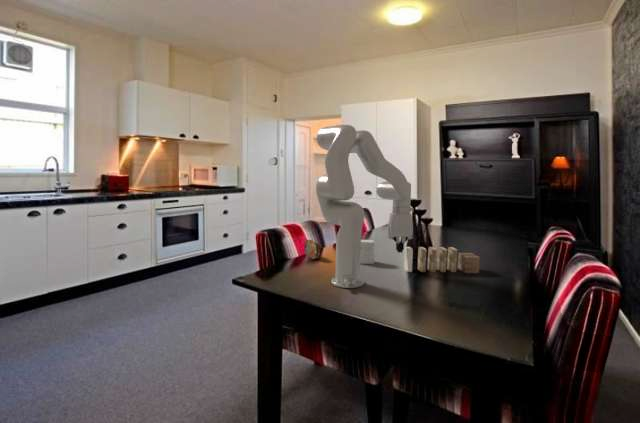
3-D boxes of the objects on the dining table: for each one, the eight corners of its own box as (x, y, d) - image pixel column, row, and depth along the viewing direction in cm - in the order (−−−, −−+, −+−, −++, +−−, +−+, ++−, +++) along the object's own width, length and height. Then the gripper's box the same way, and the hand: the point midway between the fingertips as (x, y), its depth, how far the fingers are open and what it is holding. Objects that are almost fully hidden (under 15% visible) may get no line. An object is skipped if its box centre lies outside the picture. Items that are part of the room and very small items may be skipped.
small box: (373, 261, 175) (374, 239, 174) (373, 264, 170) (374, 242, 168) (356, 260, 176) (357, 239, 175) (356, 263, 171) (357, 241, 169)
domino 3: (431, 268, 164) (432, 247, 162) (435, 271, 159) (436, 249, 157) (427, 268, 163) (428, 246, 162) (431, 271, 158) (432, 249, 157)
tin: (303, 254, 188) (303, 238, 187) (309, 253, 189) (309, 237, 188) (315, 261, 174) (315, 243, 173) (321, 260, 176) (321, 243, 175)
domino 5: (451, 268, 164) (452, 247, 163) (455, 272, 159) (457, 249, 158) (447, 268, 164) (448, 247, 163) (451, 272, 159) (452, 249, 158)
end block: (478, 273, 158) (479, 257, 157) (465, 272, 158) (466, 257, 157) (470, 268, 166) (471, 253, 165) (457, 267, 165) (458, 252, 165)
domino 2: (421, 268, 163) (422, 246, 162) (425, 271, 158) (426, 249, 157) (417, 268, 163) (418, 246, 162) (420, 271, 158) (422, 249, 157)
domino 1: (408, 268, 163) (409, 246, 162) (411, 271, 158) (412, 249, 157) (404, 268, 163) (405, 246, 162) (407, 271, 158) (408, 249, 157)
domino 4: (441, 268, 164) (442, 247, 163) (445, 271, 159) (447, 249, 158) (437, 268, 164) (438, 247, 162) (441, 271, 159) (442, 249, 157)
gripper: (415, 209, 161) (413, 250, 164) (382, 209, 161) (381, 249, 163) (421, 211, 154) (419, 253, 156) (386, 211, 153) (384, 253, 156)
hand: (399, 251), depth 160 cm, fingers closed
